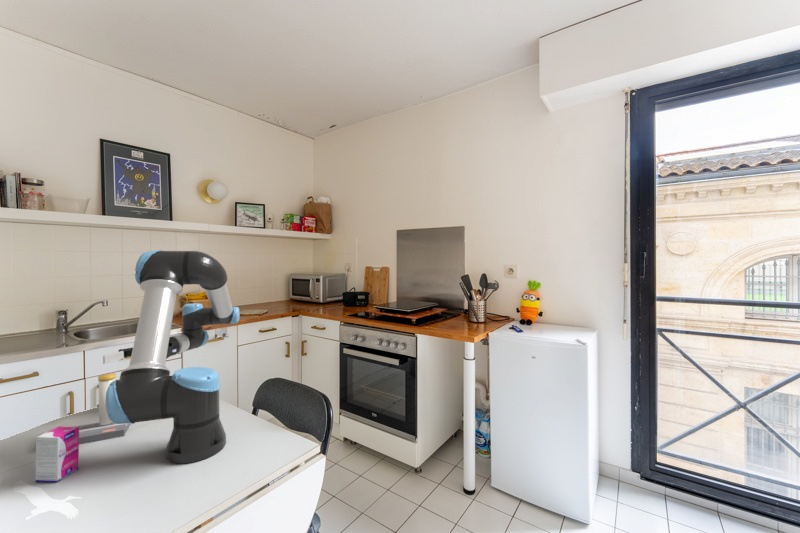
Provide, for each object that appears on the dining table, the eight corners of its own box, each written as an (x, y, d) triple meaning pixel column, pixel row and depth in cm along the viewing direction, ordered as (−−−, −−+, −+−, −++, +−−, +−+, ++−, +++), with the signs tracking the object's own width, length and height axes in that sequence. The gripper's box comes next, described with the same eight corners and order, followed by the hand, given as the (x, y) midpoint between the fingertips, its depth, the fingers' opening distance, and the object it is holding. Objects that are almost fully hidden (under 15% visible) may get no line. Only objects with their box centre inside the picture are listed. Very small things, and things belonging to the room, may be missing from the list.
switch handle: (117, 421, 112) (117, 372, 111) (113, 426, 108) (113, 376, 108) (101, 423, 110) (100, 374, 109) (96, 429, 106) (96, 378, 106)
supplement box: (58, 483, 84) (57, 437, 84) (34, 482, 84) (34, 437, 84) (80, 468, 90) (79, 426, 90) (58, 468, 90) (57, 426, 90)
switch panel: (131, 422, 116) (131, 413, 116) (124, 435, 107) (124, 426, 107) (52, 436, 106) (52, 426, 106) (36, 452, 98) (36, 441, 98)
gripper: (199, 356, 134) (149, 374, 113) (148, 352, 139) (91, 369, 119) (199, 338, 134) (149, 352, 113) (147, 334, 139) (91, 348, 119)
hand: (119, 361), depth 116 cm, fingers open, 13 cm apart
